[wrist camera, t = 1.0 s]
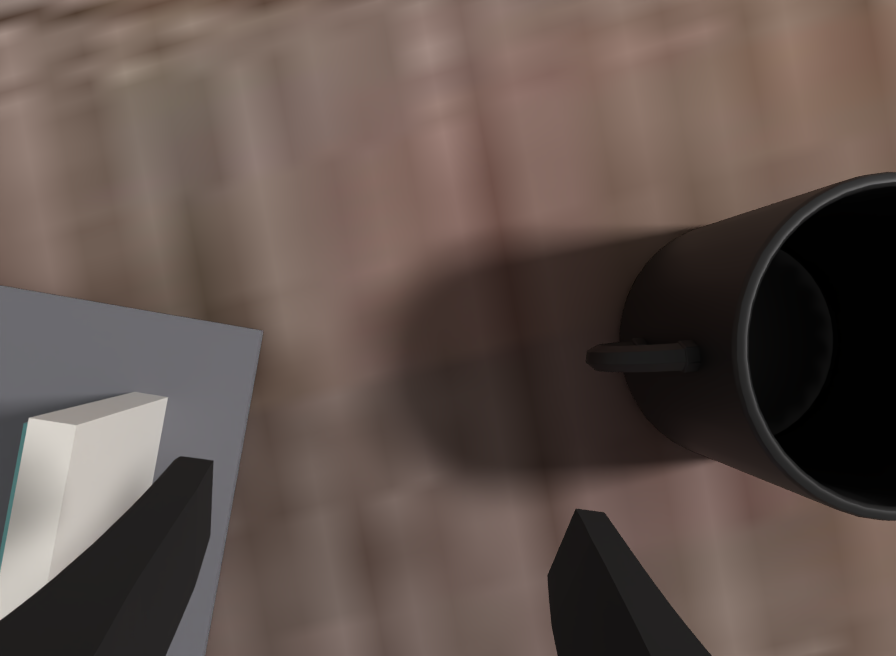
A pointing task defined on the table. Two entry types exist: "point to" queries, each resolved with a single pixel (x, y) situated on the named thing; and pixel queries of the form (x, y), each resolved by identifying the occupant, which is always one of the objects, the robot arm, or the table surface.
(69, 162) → the table surface
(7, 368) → the mat
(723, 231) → the mug
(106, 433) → the tile
